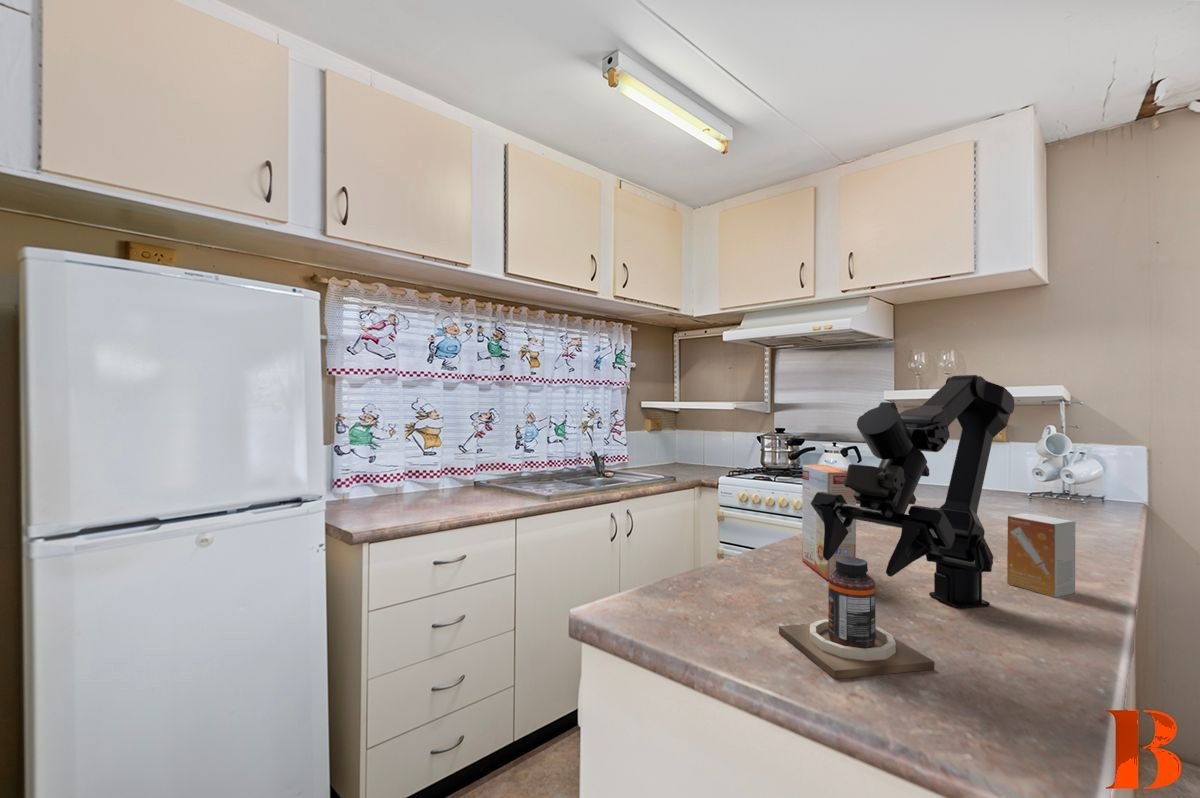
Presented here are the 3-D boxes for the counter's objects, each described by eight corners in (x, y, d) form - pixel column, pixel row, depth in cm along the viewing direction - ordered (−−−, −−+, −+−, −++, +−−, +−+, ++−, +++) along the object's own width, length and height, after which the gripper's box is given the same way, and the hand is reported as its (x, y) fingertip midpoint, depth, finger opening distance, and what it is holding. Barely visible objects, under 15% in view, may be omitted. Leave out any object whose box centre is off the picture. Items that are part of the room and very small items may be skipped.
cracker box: (858, 581, 107) (858, 471, 107) (826, 581, 107) (826, 471, 107) (829, 560, 121) (829, 463, 121) (801, 560, 121) (800, 463, 121)
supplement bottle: (826, 631, 81) (827, 552, 81) (872, 636, 79) (872, 556, 80) (829, 648, 76) (829, 563, 76) (878, 654, 74) (878, 568, 74)
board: (864, 626, 86) (864, 619, 86) (934, 669, 72) (934, 661, 72) (778, 632, 83) (778, 626, 83) (834, 678, 69) (834, 670, 69)
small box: (1006, 584, 106) (1006, 515, 106) (1027, 580, 108) (1027, 512, 108) (1055, 598, 98) (1055, 523, 98) (1076, 593, 101) (1076, 520, 101)
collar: (861, 624, 84) (861, 616, 84) (912, 656, 73) (912, 647, 73) (795, 629, 82) (795, 621, 82) (839, 663, 71) (838, 653, 71)
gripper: (817, 440, 89) (773, 519, 82) (944, 448, 74) (902, 545, 67) (845, 485, 93) (806, 563, 87) (971, 501, 78) (934, 598, 72)
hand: (855, 566), depth 78 cm, fingers open, 9 cm apart
